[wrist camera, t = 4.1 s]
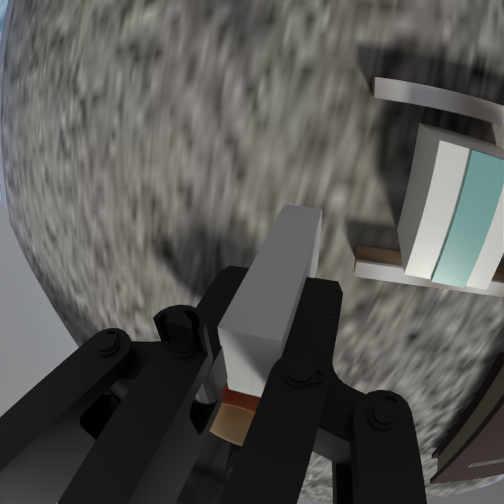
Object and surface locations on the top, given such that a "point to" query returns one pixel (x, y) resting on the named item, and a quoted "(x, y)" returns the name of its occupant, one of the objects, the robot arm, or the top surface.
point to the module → (453, 209)
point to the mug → (234, 415)
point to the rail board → (390, 261)
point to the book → (476, 435)
